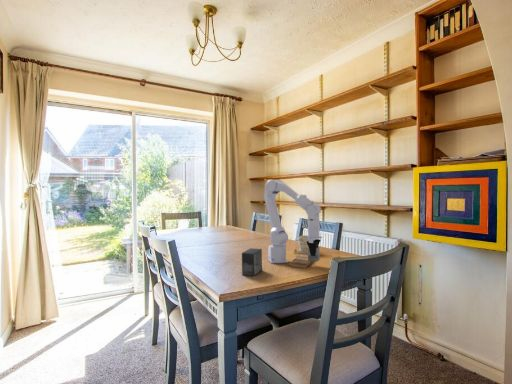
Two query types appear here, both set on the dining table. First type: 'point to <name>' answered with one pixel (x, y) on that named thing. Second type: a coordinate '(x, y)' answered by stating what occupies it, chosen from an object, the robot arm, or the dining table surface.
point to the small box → (251, 262)
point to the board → (301, 261)
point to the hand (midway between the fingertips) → (313, 254)
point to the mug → (303, 243)
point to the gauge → (310, 258)
